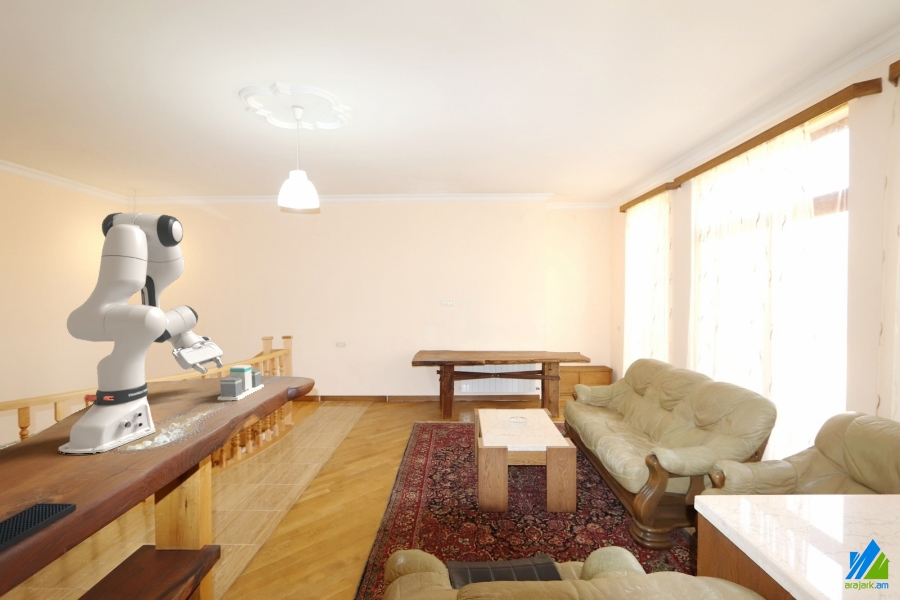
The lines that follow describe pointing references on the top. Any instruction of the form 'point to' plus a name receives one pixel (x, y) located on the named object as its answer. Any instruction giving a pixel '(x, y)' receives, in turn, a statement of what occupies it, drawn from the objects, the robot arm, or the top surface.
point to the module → (242, 375)
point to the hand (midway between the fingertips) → (213, 369)
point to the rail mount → (239, 386)
